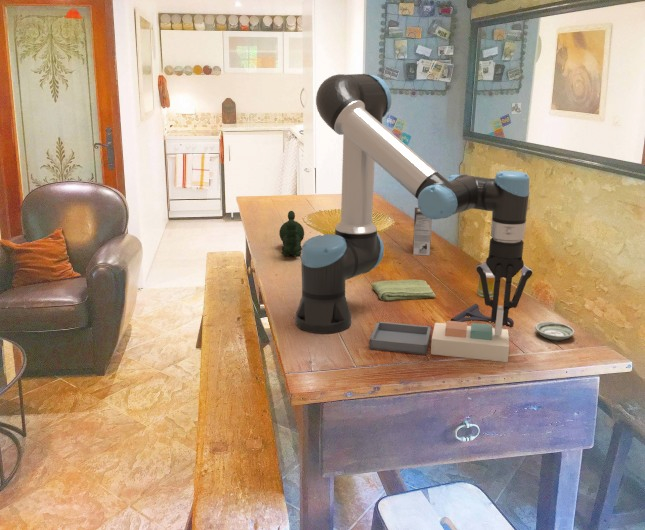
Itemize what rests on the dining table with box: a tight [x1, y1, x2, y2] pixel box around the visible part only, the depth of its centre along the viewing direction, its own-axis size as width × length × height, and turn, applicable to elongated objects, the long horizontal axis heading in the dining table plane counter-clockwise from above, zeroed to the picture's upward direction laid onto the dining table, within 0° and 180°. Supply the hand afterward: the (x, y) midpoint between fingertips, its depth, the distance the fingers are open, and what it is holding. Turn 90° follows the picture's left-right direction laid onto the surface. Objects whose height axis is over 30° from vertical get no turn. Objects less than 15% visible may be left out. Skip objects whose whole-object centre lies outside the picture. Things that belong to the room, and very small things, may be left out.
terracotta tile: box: [445, 320, 468, 338], centre depth 156 cm, size 5×5×2 cm
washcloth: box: [371, 278, 436, 302], centre depth 195 cm, size 13×18×3 cm
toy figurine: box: [278, 210, 305, 258], centre depth 235 cm, size 9×19×25 cm
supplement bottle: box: [477, 267, 495, 298], centre depth 193 cm, size 5×5×10 cm
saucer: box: [534, 321, 575, 341], centre depth 164 cm, size 10×10×2 cm
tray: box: [368, 321, 432, 356], centre depth 160 cm, size 14×12×2 cm
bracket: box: [449, 303, 515, 328], centre depth 174 cm, size 14×15×3 cm
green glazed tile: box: [470, 322, 493, 340], centre depth 154 cm, size 5×5×2 cm
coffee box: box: [412, 207, 433, 256], centre depth 237 cm, size 9×6×16 cm
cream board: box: [430, 322, 510, 363], centre depth 156 cm, size 18×11×4 cm, turn 76°
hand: (497, 332), depth 154 cm, fingers closed
